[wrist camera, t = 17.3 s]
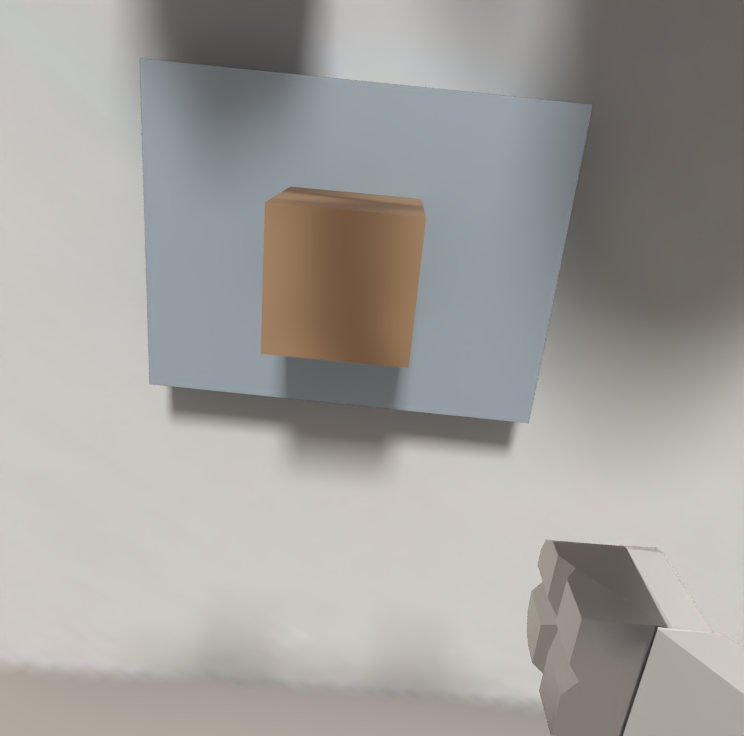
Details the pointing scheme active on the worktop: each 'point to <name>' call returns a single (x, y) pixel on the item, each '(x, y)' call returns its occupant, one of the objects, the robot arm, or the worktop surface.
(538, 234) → the plate
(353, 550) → the worktop surface
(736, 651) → the robot arm
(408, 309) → the walnut cube
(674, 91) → the worktop surface
